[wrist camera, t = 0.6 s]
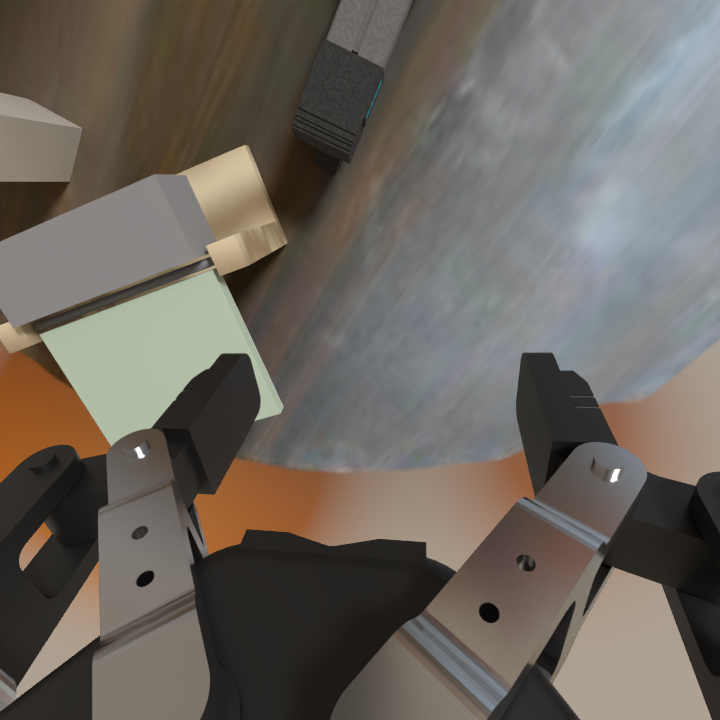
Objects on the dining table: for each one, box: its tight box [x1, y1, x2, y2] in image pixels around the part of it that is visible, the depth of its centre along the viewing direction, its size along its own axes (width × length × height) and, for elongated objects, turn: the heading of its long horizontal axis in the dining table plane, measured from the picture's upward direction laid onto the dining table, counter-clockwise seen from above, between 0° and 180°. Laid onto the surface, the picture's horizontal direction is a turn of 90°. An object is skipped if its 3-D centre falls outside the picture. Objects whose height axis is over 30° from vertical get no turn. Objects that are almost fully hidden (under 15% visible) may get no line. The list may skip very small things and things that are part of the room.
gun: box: [292, 0, 413, 175], centre depth 30 cm, size 4×20×10 cm, turn 156°
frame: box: [0, 145, 288, 353], centre depth 33 cm, size 8×19×11 cm, turn 110°
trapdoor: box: [0, 174, 283, 447], centre depth 31 cm, size 17×15×4 cm
